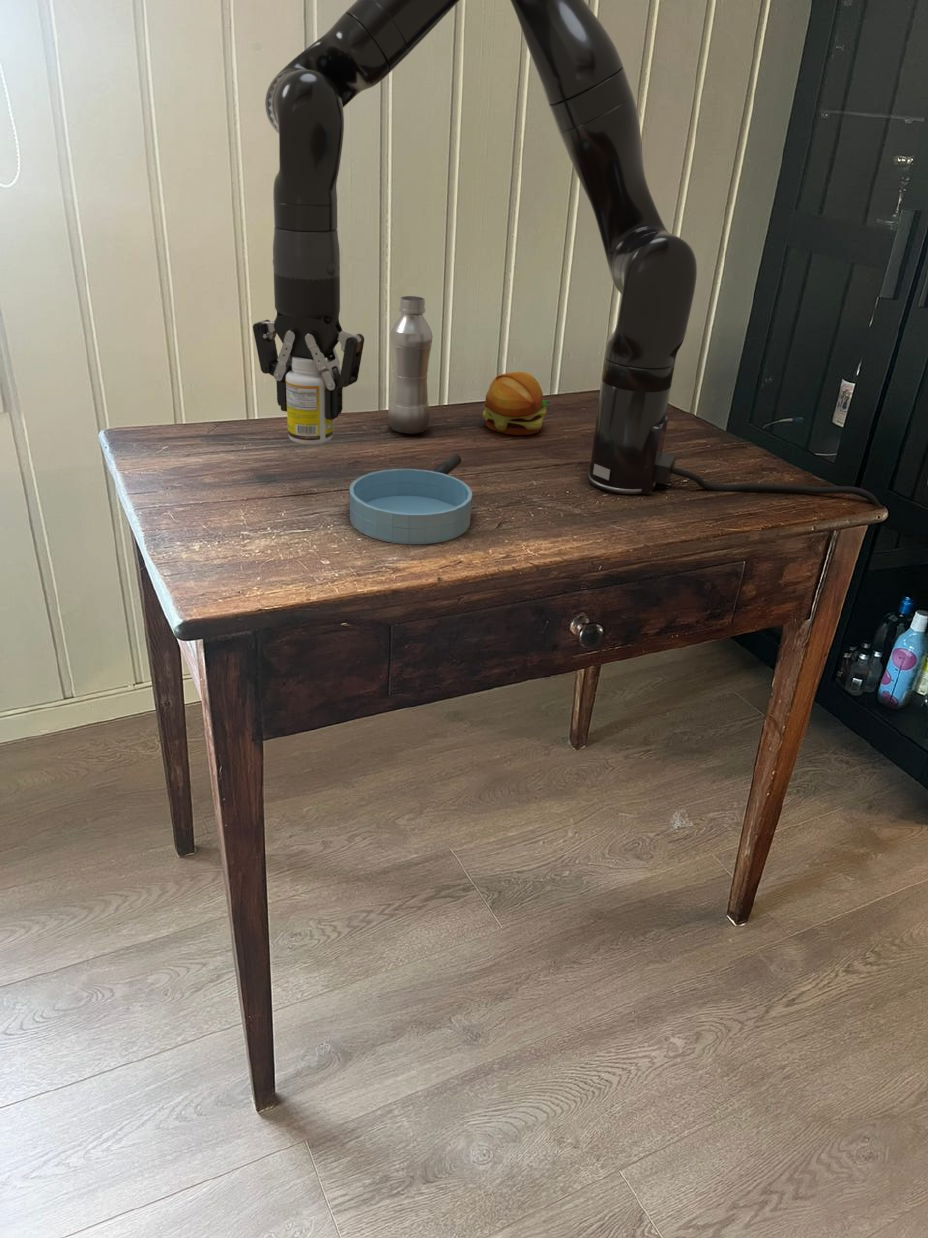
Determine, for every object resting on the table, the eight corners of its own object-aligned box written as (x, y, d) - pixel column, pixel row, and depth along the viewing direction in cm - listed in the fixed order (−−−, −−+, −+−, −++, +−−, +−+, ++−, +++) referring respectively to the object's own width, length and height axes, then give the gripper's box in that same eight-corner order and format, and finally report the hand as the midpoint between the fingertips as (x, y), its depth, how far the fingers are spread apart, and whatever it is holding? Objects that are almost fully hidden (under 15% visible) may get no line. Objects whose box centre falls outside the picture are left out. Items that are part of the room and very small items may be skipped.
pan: (486, 509, 122) (489, 482, 120) (443, 554, 110) (444, 524, 108) (381, 488, 126) (381, 461, 125) (327, 528, 114) (327, 499, 112)
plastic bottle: (396, 439, 144) (399, 303, 134) (381, 426, 149) (383, 294, 139) (435, 436, 146) (441, 302, 136) (419, 423, 151) (424, 293, 142)
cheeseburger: (550, 420, 156) (555, 365, 149) (538, 455, 149) (543, 399, 142) (490, 412, 158) (492, 357, 151) (475, 446, 150) (477, 390, 143)
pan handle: (438, 484, 123) (439, 473, 122) (427, 482, 123) (428, 471, 122) (462, 464, 130) (463, 453, 129) (451, 462, 130) (452, 451, 129)
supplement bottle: (319, 429, 122) (318, 348, 117) (340, 442, 118) (340, 359, 113) (279, 435, 119) (276, 353, 114) (300, 448, 115) (298, 364, 110)
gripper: (377, 273, 109) (375, 415, 118) (269, 258, 114) (274, 397, 122) (348, 282, 103) (347, 432, 112) (234, 266, 107) (242, 412, 116)
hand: (309, 413), depth 117 cm, fingers closed on supplement bottle, 5 cm apart
